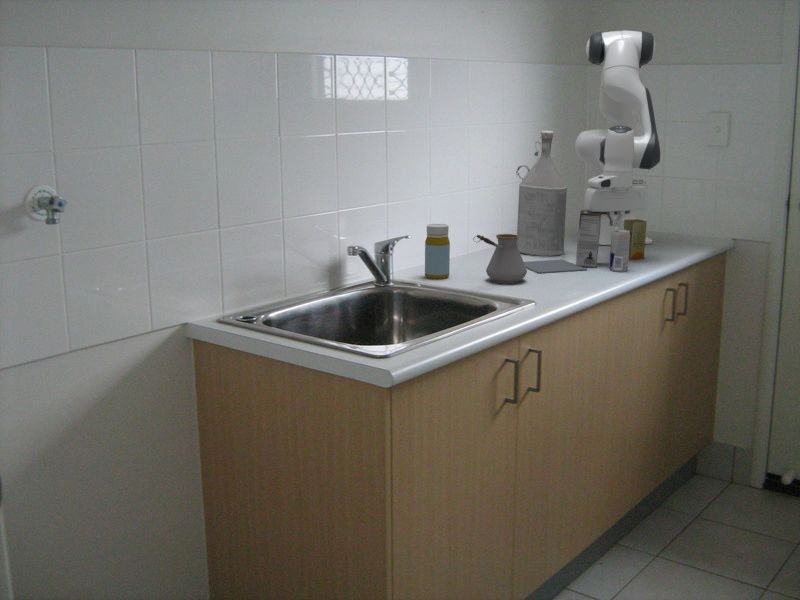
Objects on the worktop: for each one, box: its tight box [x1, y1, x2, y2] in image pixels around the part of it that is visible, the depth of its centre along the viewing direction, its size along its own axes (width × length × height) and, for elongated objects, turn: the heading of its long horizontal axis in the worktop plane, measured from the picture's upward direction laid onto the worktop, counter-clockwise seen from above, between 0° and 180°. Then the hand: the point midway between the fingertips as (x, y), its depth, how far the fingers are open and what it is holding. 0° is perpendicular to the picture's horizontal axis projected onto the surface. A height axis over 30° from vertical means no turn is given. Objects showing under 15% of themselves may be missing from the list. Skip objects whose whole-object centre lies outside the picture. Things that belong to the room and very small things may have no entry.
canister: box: [516, 130, 568, 257], centre depth 288 cm, size 13×17×40 cm
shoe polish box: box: [624, 218, 647, 261], centre depth 283 cm, size 5×5×12 cm
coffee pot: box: [473, 233, 528, 284], centre depth 245 cm, size 21×12×15 cm, turn 141°
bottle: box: [424, 223, 451, 280], centre depth 253 cm, size 7×7×15 cm
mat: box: [523, 259, 588, 275], centre depth 269 cm, size 16×16×1 cm
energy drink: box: [608, 229, 630, 273], centre depth 263 cm, size 5×5×12 cm
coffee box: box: [575, 209, 601, 268], centre depth 271 cm, size 9×6×16 cm
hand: (614, 225), depth 273 cm, fingers closed
